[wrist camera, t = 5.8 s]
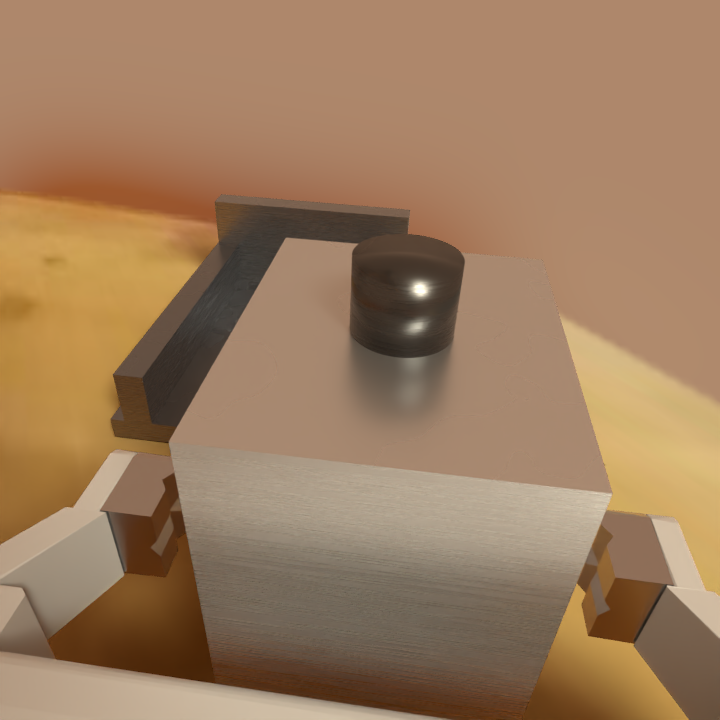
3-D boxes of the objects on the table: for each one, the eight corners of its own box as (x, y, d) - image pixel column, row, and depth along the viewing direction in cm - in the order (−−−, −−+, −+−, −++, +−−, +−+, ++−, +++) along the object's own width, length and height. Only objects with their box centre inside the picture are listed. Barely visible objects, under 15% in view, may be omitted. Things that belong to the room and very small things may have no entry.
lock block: (237, 793, 13) (151, 356, 6) (297, 557, 17) (283, 177, 11) (476, 833, 12) (648, 408, 6) (468, 579, 17) (556, 198, 11)
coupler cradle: (114, 436, 21) (84, 321, 19) (226, 275, 32) (217, 186, 29) (393, 469, 21) (404, 353, 18) (412, 292, 31) (421, 203, 28)
